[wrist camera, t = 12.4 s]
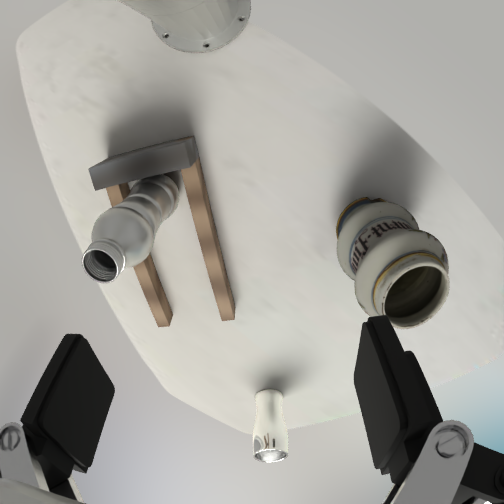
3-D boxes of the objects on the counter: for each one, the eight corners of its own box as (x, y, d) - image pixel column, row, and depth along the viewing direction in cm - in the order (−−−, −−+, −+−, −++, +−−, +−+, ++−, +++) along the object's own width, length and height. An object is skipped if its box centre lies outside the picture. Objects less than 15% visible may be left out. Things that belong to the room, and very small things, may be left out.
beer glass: (290, 397, 64) (296, 456, 51) (265, 408, 66) (266, 465, 53) (272, 383, 62) (275, 445, 49) (246, 395, 64) (244, 455, 51)
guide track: (107, 158, 40) (88, 168, 35) (194, 135, 39) (184, 142, 34) (162, 315, 53) (154, 339, 48) (235, 307, 52) (233, 332, 47)
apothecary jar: (406, 188, 42) (475, 244, 26) (398, 259, 48) (448, 334, 32) (328, 190, 43) (370, 253, 27) (327, 266, 48) (356, 350, 32)
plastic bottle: (134, 171, 41) (59, 233, 24) (181, 167, 41) (126, 231, 24) (140, 213, 44) (78, 295, 27) (185, 212, 44) (141, 298, 27)
